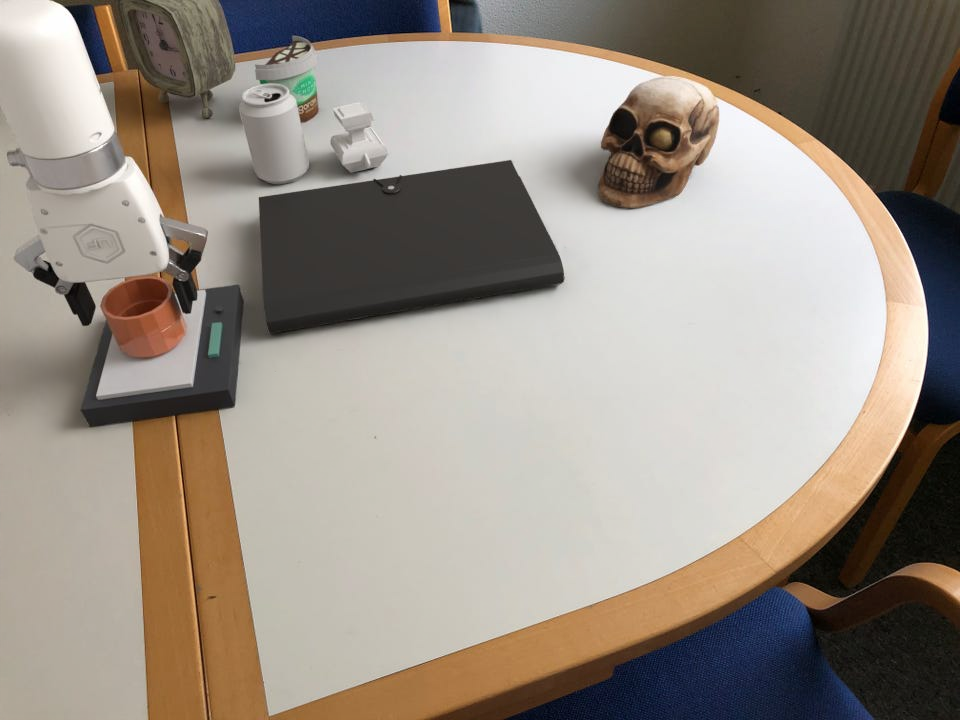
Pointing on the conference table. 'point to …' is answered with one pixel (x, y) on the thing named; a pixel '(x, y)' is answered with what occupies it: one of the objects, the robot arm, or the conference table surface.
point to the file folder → (401, 245)
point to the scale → (171, 367)
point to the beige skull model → (657, 141)
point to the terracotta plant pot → (144, 316)
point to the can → (274, 133)
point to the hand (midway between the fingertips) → (139, 311)
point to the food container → (294, 75)
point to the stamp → (357, 139)
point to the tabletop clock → (180, 45)
